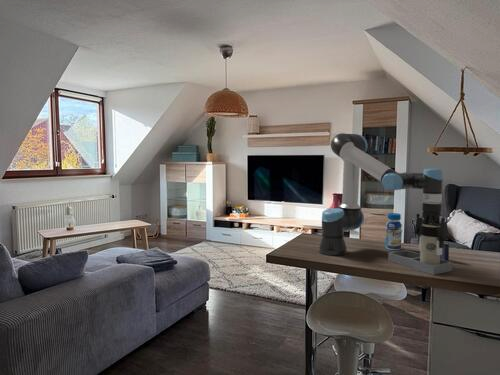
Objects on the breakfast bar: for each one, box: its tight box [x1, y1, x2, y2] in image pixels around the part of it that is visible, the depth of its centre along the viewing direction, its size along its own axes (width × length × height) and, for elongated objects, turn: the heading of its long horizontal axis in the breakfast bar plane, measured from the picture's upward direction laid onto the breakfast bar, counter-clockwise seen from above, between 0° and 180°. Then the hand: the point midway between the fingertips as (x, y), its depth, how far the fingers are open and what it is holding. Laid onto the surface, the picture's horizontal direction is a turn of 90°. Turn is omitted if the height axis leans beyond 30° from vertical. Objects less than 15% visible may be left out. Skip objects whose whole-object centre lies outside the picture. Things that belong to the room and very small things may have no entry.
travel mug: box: [419, 223, 441, 266], centre depth 150 cm, size 8×8×18 cm
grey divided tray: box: [387, 249, 453, 276], centre depth 156 cm, size 24×13×4 cm, turn 25°
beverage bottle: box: [385, 212, 403, 251], centre depth 186 cm, size 8×8×20 cm
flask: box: [440, 241, 450, 262], centre depth 165 cm, size 9×3×11 cm, turn 24°
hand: (430, 252), depth 150 cm, fingers closed on travel mug, 8 cm apart
